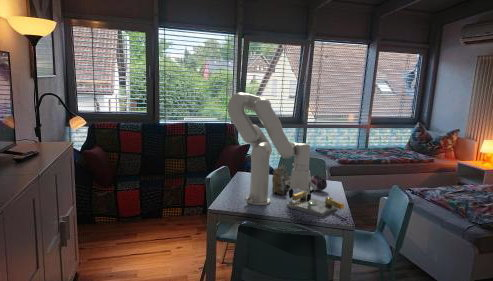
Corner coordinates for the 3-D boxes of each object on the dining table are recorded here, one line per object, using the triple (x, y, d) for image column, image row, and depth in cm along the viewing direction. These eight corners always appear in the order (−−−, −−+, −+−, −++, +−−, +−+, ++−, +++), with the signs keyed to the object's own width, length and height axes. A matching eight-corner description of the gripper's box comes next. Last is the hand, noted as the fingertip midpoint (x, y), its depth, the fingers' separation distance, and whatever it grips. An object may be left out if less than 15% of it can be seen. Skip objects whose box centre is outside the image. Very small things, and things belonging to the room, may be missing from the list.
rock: (285, 197, 189) (286, 171, 187) (267, 194, 193) (269, 169, 191) (295, 185, 214) (297, 162, 212) (280, 183, 218) (281, 160, 216)
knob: (344, 210, 164) (345, 203, 164) (338, 211, 163) (339, 204, 162) (328, 203, 174) (329, 196, 174) (323, 204, 172) (324, 197, 172)
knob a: (296, 202, 173) (297, 196, 172) (290, 201, 175) (291, 194, 174) (307, 198, 181) (308, 191, 181) (301, 196, 184) (302, 190, 183)
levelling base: (321, 217, 160) (322, 212, 160) (286, 206, 173) (286, 201, 172) (337, 208, 173) (337, 203, 173) (303, 199, 186) (303, 194, 185)
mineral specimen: (328, 192, 200) (329, 176, 199) (311, 192, 200) (312, 176, 198) (323, 188, 210) (324, 172, 209) (307, 187, 209) (308, 172, 208)
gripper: (283, 166, 173) (281, 197, 176) (315, 171, 164) (312, 204, 167) (289, 163, 179) (287, 194, 182) (320, 168, 171) (317, 200, 173)
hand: (299, 199), depth 174 cm, fingers open, 9 cm apart
